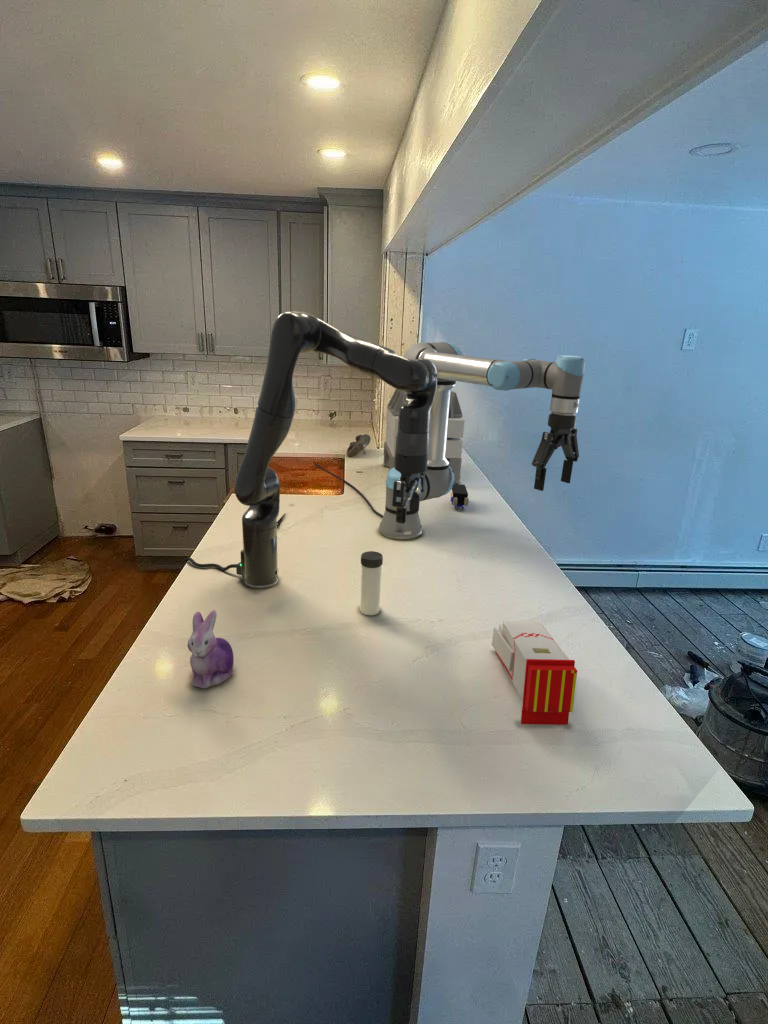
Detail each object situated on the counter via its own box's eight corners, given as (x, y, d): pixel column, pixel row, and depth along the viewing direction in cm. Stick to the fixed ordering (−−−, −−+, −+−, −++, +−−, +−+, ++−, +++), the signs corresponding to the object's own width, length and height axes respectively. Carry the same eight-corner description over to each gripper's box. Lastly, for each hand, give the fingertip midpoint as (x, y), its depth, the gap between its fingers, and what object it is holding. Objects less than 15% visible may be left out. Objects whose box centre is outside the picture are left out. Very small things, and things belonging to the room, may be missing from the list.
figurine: (194, 695, 113) (188, 630, 108) (185, 667, 122) (179, 606, 117) (241, 683, 118) (238, 620, 112) (229, 657, 126) (226, 597, 121)
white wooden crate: (382, 463, 289) (386, 382, 275) (445, 464, 293) (451, 384, 279) (390, 482, 257) (394, 392, 243) (460, 483, 261) (468, 394, 247)
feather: (292, 507, 224) (294, 503, 223) (275, 531, 197) (278, 527, 197) (288, 505, 224) (291, 501, 223) (271, 528, 197) (273, 524, 197)
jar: (383, 610, 149) (385, 557, 144) (370, 617, 145) (372, 563, 140) (369, 603, 152) (371, 551, 147) (356, 610, 148) (357, 556, 143)
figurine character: (468, 514, 225) (463, 498, 239) (470, 497, 222) (465, 482, 235) (451, 514, 225) (447, 498, 238) (453, 497, 222) (449, 481, 235)
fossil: (346, 440, 316) (367, 425, 311) (357, 453, 319) (378, 438, 314) (340, 453, 296) (362, 438, 291) (351, 468, 299) (374, 452, 294)
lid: (386, 563, 144) (387, 555, 144) (372, 570, 140) (372, 562, 140) (370, 557, 148) (371, 549, 147) (356, 563, 144) (356, 555, 143)
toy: (538, 606, 134) (586, 666, 105) (533, 659, 137) (578, 731, 108) (487, 605, 134) (521, 665, 105) (483, 658, 137) (515, 730, 107)
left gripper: (408, 442, 136) (404, 505, 141) (384, 454, 124) (380, 523, 129) (437, 446, 133) (432, 511, 139) (416, 459, 121) (411, 529, 126)
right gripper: (548, 419, 148) (537, 496, 155) (598, 411, 163) (586, 482, 171) (525, 414, 153) (515, 489, 160) (575, 407, 169) (564, 476, 176)
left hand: (407, 517), depth 134 cm, fingers open, 8 cm apart
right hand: (552, 485), depth 166 cm, fingers open, 13 cm apart
